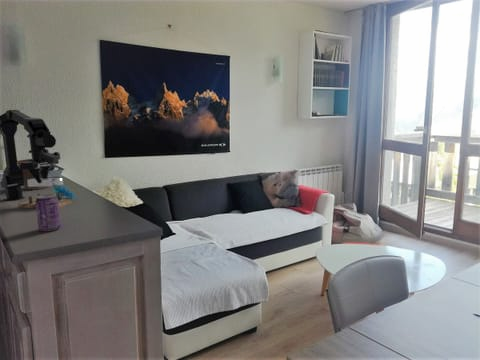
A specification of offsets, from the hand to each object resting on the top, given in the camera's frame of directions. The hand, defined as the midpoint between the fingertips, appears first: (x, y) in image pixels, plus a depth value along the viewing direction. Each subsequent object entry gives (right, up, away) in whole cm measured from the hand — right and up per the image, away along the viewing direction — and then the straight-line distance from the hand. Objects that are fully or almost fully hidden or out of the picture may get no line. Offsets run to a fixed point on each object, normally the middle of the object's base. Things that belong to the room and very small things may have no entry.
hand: (42, 182), depth 178 cm
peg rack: (+1, -10, +1) cm, 10 cm away
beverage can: (+22, -16, -39) cm, 47 cm away
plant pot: (-26, -4, +47) cm, 54 cm away
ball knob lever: (+2, -1, 0) cm, 2 cm away
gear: (+4, -9, +12) cm, 16 cm away
